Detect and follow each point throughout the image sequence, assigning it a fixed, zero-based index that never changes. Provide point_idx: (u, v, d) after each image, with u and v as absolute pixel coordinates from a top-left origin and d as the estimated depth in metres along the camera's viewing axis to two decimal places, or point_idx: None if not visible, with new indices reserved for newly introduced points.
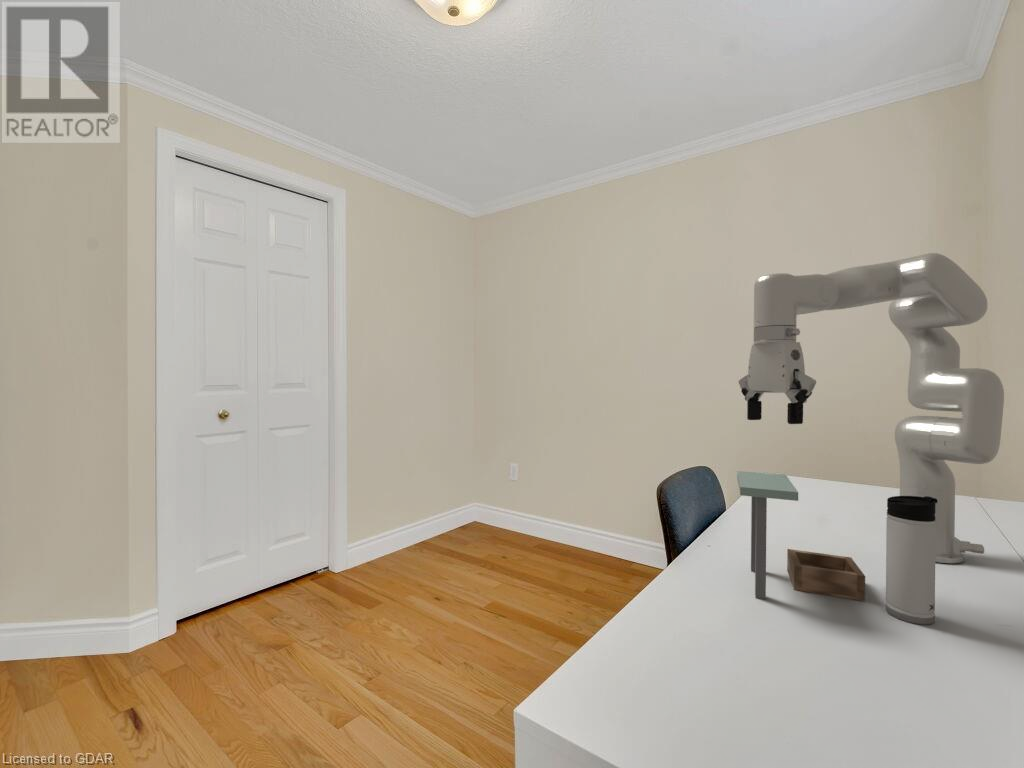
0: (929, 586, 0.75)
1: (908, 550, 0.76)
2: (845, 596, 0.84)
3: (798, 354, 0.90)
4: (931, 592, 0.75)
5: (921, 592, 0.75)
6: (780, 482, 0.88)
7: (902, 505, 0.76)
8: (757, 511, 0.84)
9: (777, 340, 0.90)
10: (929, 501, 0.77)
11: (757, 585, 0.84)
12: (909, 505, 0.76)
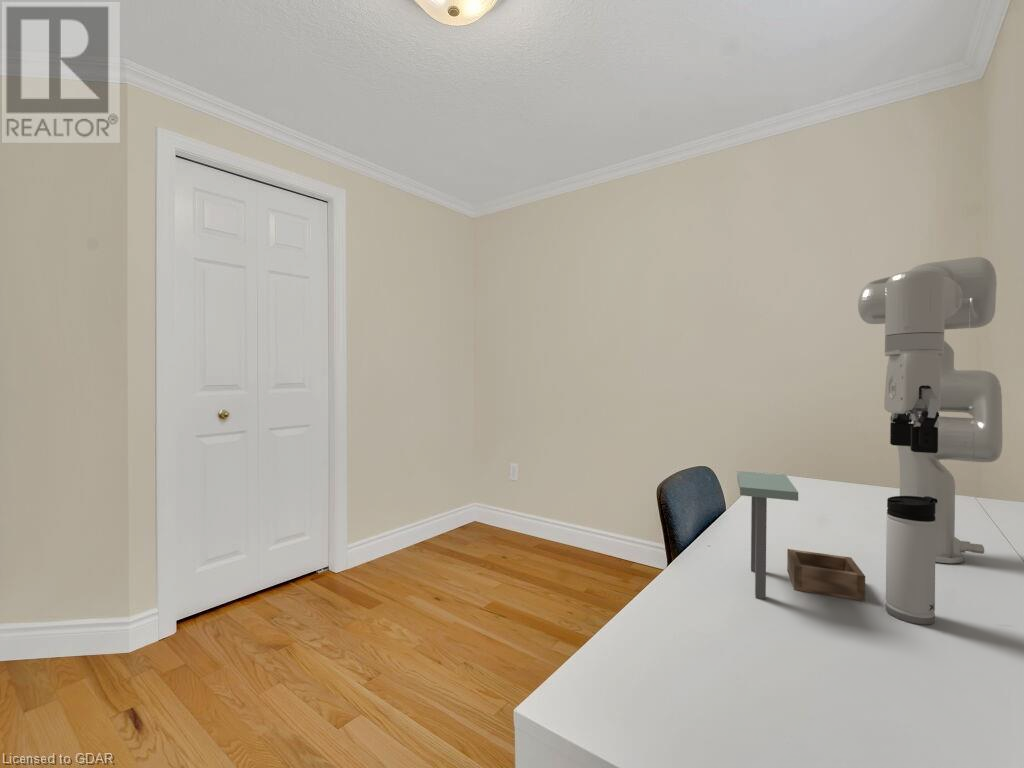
0: (929, 586, 0.75)
1: (909, 550, 0.76)
2: (845, 596, 0.84)
3: None
4: (931, 592, 0.75)
5: (921, 592, 0.75)
6: (780, 482, 0.88)
7: (902, 505, 0.76)
8: (757, 511, 0.84)
9: None
10: (929, 501, 0.77)
11: (757, 585, 0.84)
12: (909, 505, 0.76)
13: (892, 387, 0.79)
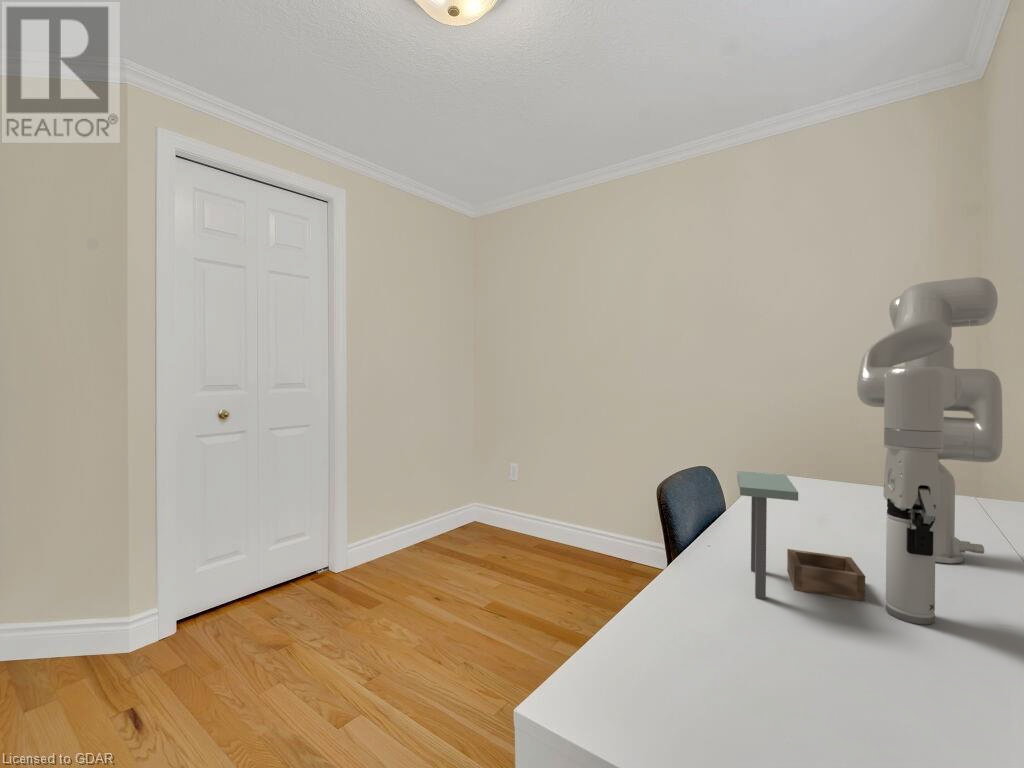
0: (929, 586, 0.75)
1: None
2: (845, 596, 0.84)
3: None
4: (931, 592, 0.75)
5: (921, 591, 0.75)
6: (780, 482, 0.88)
7: None
8: (757, 511, 0.84)
9: None
10: None
11: (757, 585, 0.84)
12: None
13: (891, 480, 0.79)
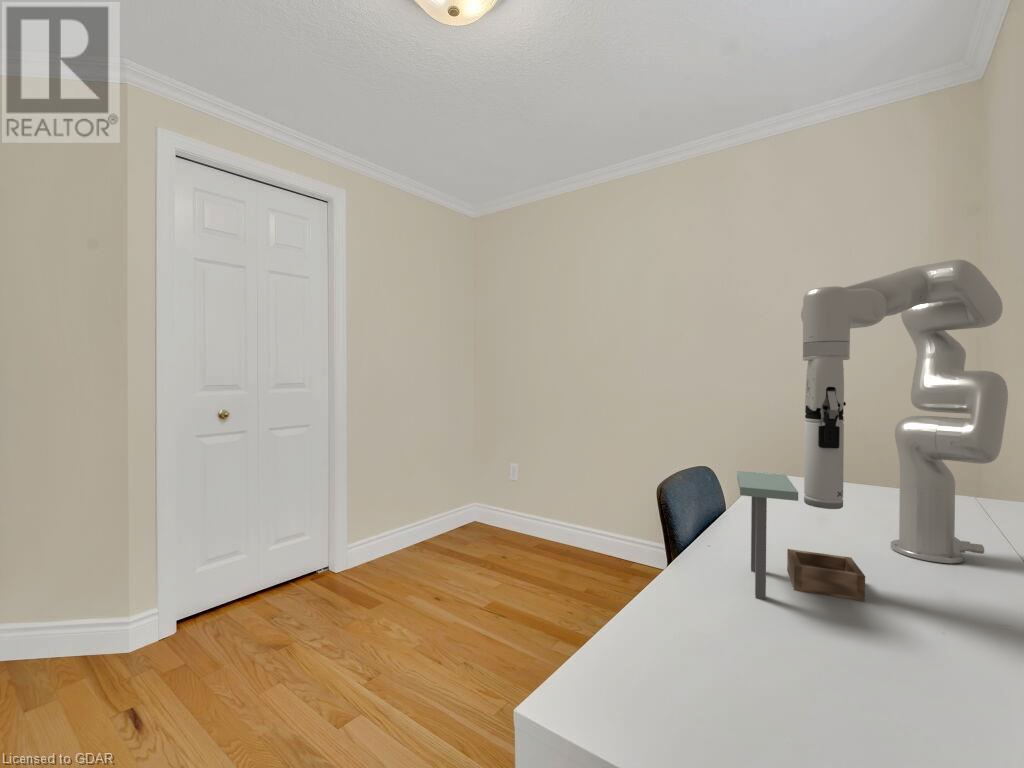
0: (837, 475, 0.87)
1: None
2: (845, 596, 0.84)
3: None
4: (838, 481, 0.87)
5: (830, 480, 0.87)
6: (780, 482, 0.88)
7: None
8: (757, 511, 0.84)
9: None
10: None
11: (757, 585, 0.84)
12: None
13: (808, 388, 0.90)
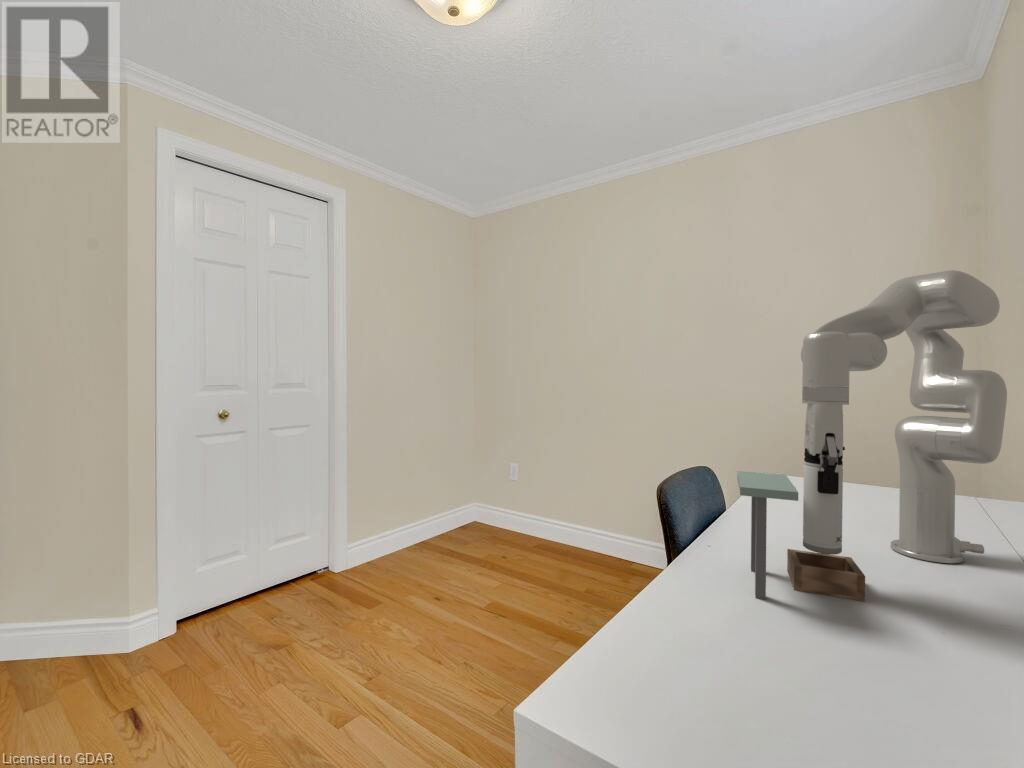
0: (835, 521, 0.87)
1: None
2: (845, 596, 0.84)
3: None
4: (837, 526, 0.87)
5: (829, 526, 0.87)
6: (780, 482, 0.88)
7: None
8: (757, 511, 0.84)
9: None
10: None
11: (757, 585, 0.84)
12: None
13: (807, 431, 0.91)
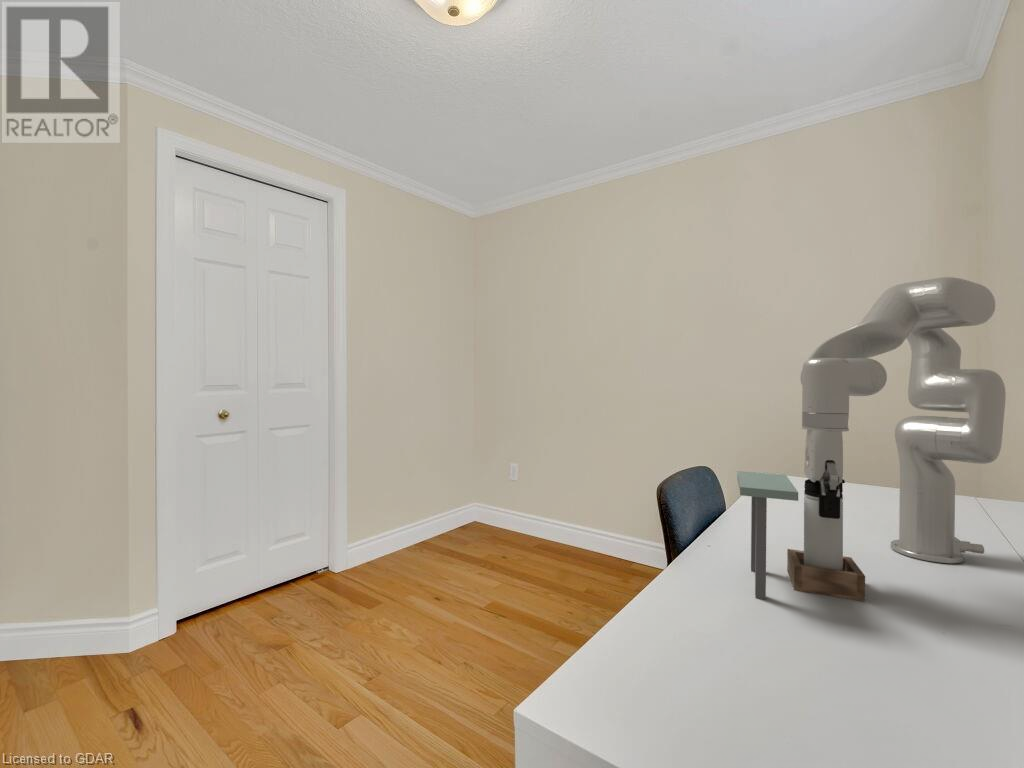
0: (836, 555, 0.87)
1: (819, 524, 0.88)
2: (845, 596, 0.84)
3: None
4: (838, 560, 0.87)
5: (830, 559, 0.87)
6: (780, 482, 0.88)
7: (814, 485, 0.88)
8: (757, 511, 0.84)
9: None
10: None
11: (757, 585, 0.84)
12: None
13: (807, 457, 0.91)
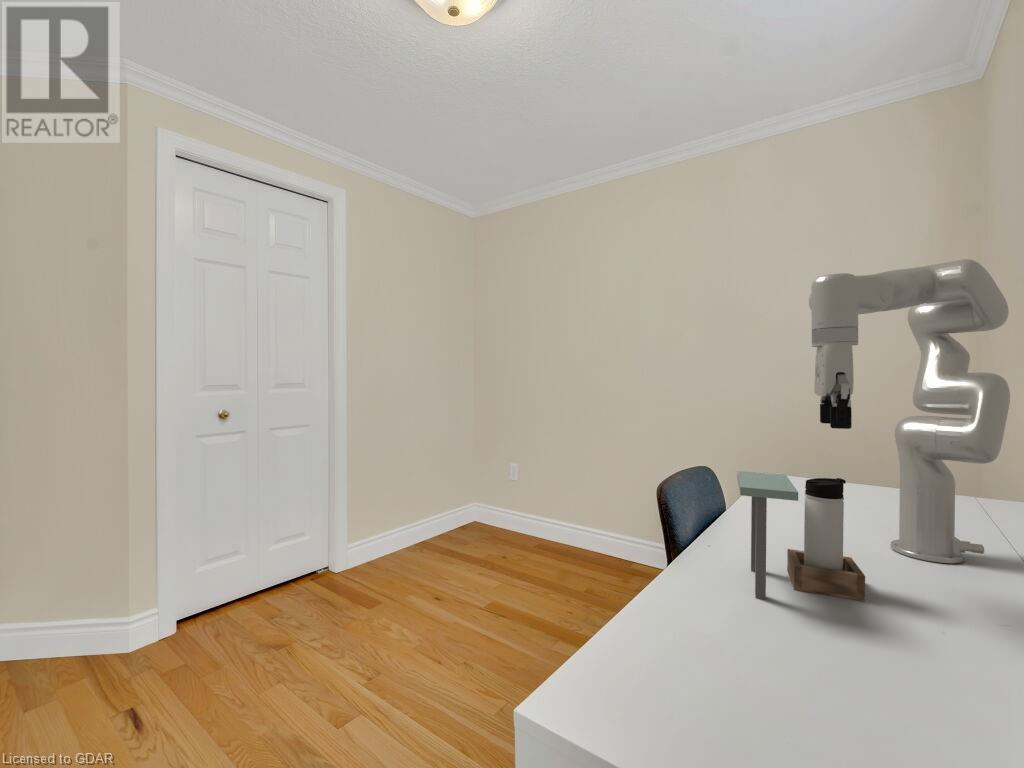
0: (837, 555, 0.87)
1: (820, 524, 0.88)
2: (845, 596, 0.84)
3: None
4: (838, 560, 0.87)
5: (830, 559, 0.87)
6: (780, 482, 0.88)
7: (815, 485, 0.88)
8: (757, 511, 0.84)
9: None
10: (839, 482, 0.89)
11: (757, 585, 0.84)
12: (821, 485, 0.88)
13: (817, 374, 0.92)
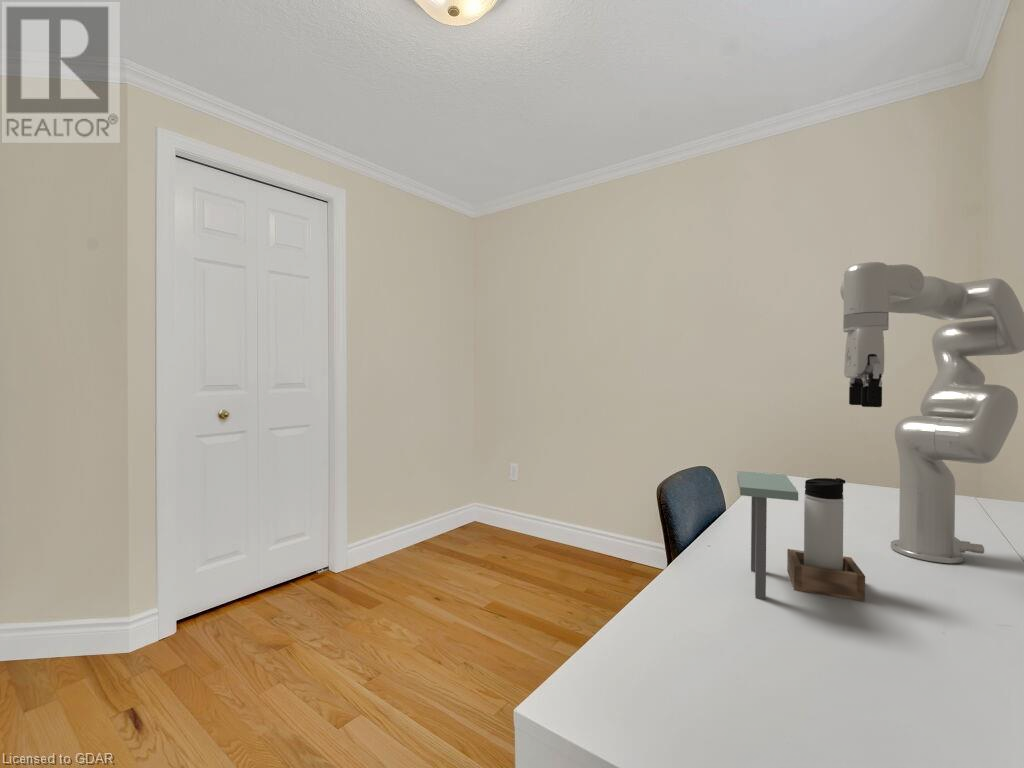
0: (836, 555, 0.87)
1: (820, 524, 0.88)
2: (845, 596, 0.84)
3: None
4: (838, 560, 0.87)
5: (830, 560, 0.87)
6: (780, 482, 0.88)
7: (815, 485, 0.88)
8: (757, 511, 0.84)
9: None
10: (839, 482, 0.89)
11: (757, 585, 0.84)
12: (820, 485, 0.88)
13: (848, 357, 0.98)
